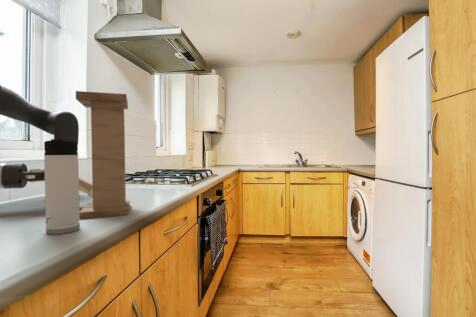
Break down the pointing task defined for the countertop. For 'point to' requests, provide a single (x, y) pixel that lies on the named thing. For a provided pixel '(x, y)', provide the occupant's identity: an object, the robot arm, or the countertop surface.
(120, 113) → the stand
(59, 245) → the countertop surface
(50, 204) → the travel mug
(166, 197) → the countertop surface
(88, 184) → the mallet
